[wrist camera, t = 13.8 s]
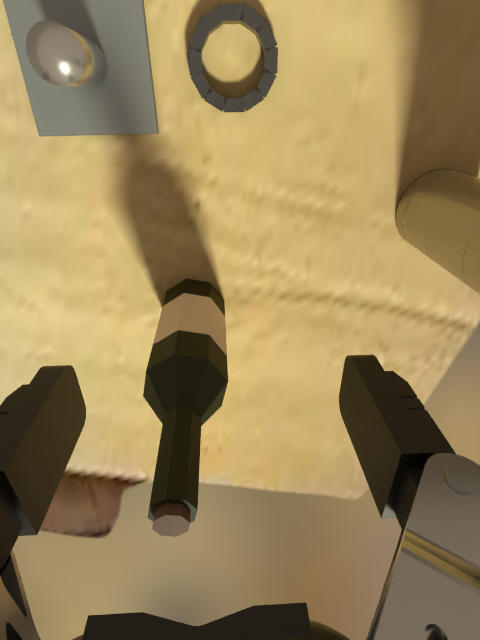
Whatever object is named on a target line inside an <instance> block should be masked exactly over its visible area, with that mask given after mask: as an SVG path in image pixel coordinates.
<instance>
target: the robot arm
mask: <svg viewBox="0 0 480 640" xmlns="http://www.w3.org/2000/svg"><path fill="white" fill-rule="evenodd" d="M396 225H397V229H398V231H399V233H400V235H401V236H402V237H403V239H405V240H406V241H407V242H408V243H410V244H411V245H413V246H414V247H415V248H417V249H418V250H419V251H421V252H422V253H423V254H425V255H426V256H427V257H429V258H430V259H432V260H433V261H434V262H436V263H437V264H439V265H440V266H441V267H443V268H444V269H446V270H447V271H448V272H450V273H451V274H452V275H454V276H455V277H457V278H458V279H459V280H461V281H462V282H464V283H465V284H466V285H468V286H469V287H470V288H472V289H473V290H475V291H476V292H478V293H479V294H480V178H478V177H475V176H471V175H468V174H464V173H460V172H457V171H453V170H448V169H443V170H436V171H432V172H429V173H427V174H425V175H423V176H421V177H420V178H419V179H417V180H416V181H415V182H414V183H412V184H411V185H410V186H409V187H408V189H407V190H406V191H405V193H404V194H403V196H402V198H401V200H400V202H399V204H398V208H397V211H396ZM339 406H340V412H341V415H342V418H343V421H344V423H345V426H346V428H347V431H348V434H349V436H350V439H351V441H352V444H353V446H354V449H355V452H356V454H357V457H358V459H359V462H360V464H361V467H362V470H363V472H364V475H365V477H366V480H367V482H368V485H369V488H370V490H371V493H372V495H373V498H374V500H375V503H376V506H377V508H378V511H379V513H380V516H381V518H397V519H398V522H399V524H400V526H401V528H402V530H401V532H400V535H399V539H398V542H397V545H396V548H395V551H394V554H393V558H392V561H391V564H390V567H389V570H388V574H387V577H386V580H385V583H384V586H383V590H382V593H381V596H380V600H379V603H378V605H377V608H376V612H375V614H374V618H373V620H372V623H371V626H370V629H369V632H368V636H367V639H366V640H480V466H479V465H478V464H477V463H475V462H473V461H472V460H470V459H468V458H466V457H463V456H460V455H457V454H456V453H455V452H454V450H453V449H452V448H451V446H450V444H449V443H448V441H447V440H446V438H445V437H444V435H443V434H442V432H441V431H440V429H439V428H438V427H437V425H436V424H435V422H434V421H433V419H432V418H431V416H430V415H429V413H428V412H427V411H426V410H425V409H424V406H423V404H422V403H421V401H420V400H419V399H417V395H416V394H415V392H414V391H413V389H412V388H411V386H410V385H409V383H408V382H407V381H405V380H404V379H403V378H401V377H400V376H399V375H397V374H396V373H395V372H394V371H384V369H383V368H382V366H381V365H380V363H379V361H378V360H377V358H376V357H375V356H374V355H350V356H347V357H346V359H345V363H344V369H343V375H342V381H341V388H340V394H339ZM85 418H86V407H85V402H84V399H83V396H82V393H81V389H80V386H79V383H78V379H77V376H76V373H75V370H74V368H73V367H72V366H70V365H66V366H43V367H41V368H40V369H39V371H38V372H37V374H36V375H35V377H34V378H33V379H32V381H31V382H30V384H29V385H22V386H21V387H19V388H18V389H17V390H16V391H14V392H13V393H12V394H10V395H9V396H8V397H6V399H5V400H4V401H3V403H2V404H1V405H0V640H41V639H40V637H39V635H38V632H37V630H36V627H35V625H34V621H33V618H32V615H31V611H30V608H29V604H28V601H27V597H26V594H25V590H24V586H23V583H22V579H21V576H20V572H19V569H18V565H17V562H16V558H15V555H14V553H13V551H12V548H13V546H14V544H15V542H16V540H17V538H18V536H25V535H37V534H38V532H39V529H40V527H41V525H42V522H43V520H44V518H45V515H46V513H47V511H48V508H49V506H50V504H51V501H52V499H53V497H54V494H55V492H56V490H57V487H58V485H59V483H60V480H61V478H62V476H63V473H64V471H65V469H66V466H67V464H68V462H69V459H70V457H71V455H72V452H73V450H74V448H75V445H76V443H77V441H78V438H79V436H80V434H81V431H82V429H83V427H84V423H85ZM73 640H350V639H348V638H347V637H346V636H344V635H343V634H341V633H339V632H338V631H336V630H334V629H332V628H331V627H328V626H326V625H324V624H321V623H319V622H315V621H312V620H309V616H308V610H307V604H306V603H293V604H276V605H260V606H252V607H249V608H246V609H244V610H241V611H239V612H236V613H234V614H231V615H228V616H226V617H223V618H221V619H218V620H215V621H213V622H210V623H207V624H205V625H202V626H191V625H187V624H184V623H180V622H176V621H172V620H169V619H165V618H162V617H158V616H154V615H150V614H147V613H143V612H141V613H124V614H109V615H90V616H88V619H87V623H86V626H85V631H84V634H83V635H81V636H79V637H76V638H75V639H73Z"/></svg>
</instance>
